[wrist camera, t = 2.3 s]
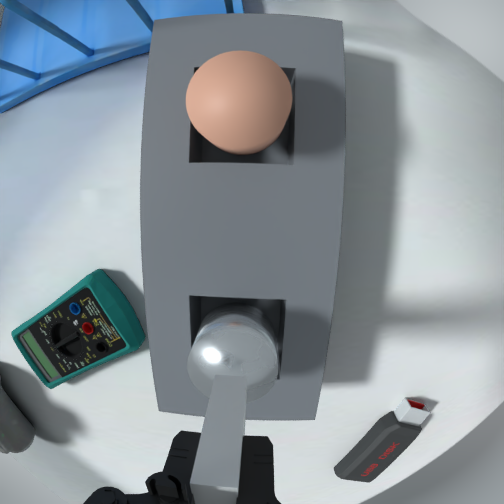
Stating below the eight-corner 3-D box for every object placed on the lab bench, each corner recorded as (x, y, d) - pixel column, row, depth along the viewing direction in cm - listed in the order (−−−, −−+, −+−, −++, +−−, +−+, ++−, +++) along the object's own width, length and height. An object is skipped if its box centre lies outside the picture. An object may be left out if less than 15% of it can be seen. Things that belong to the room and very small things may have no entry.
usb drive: (332, 466, 29) (336, 482, 27) (397, 393, 27) (406, 410, 24) (366, 471, 30) (371, 487, 27) (429, 403, 27) (439, 418, 24)
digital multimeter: (154, 333, 26) (143, 350, 23) (58, 379, 28) (45, 393, 25) (108, 261, 25) (91, 271, 22) (21, 324, 27) (5, 335, 24)
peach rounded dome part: (203, 76, 17) (189, 52, 13) (286, 77, 17) (292, 52, 13) (199, 154, 18) (183, 147, 14) (284, 156, 18) (291, 149, 14)
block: (173, 47, 20) (154, 19, 15) (327, 49, 20) (342, 20, 15) (173, 376, 26) (158, 411, 21) (307, 383, 26) (314, 419, 21)
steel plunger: (198, 300, 20) (184, 327, 16) (277, 303, 20) (281, 332, 16) (200, 366, 21) (190, 400, 17) (272, 369, 21) (274, 405, 17)
